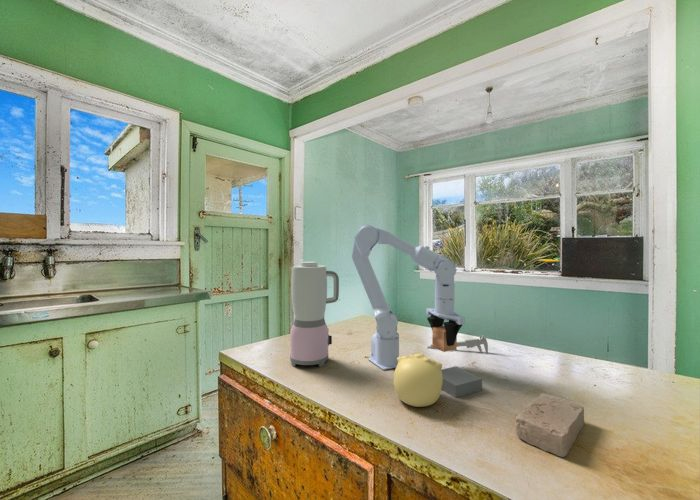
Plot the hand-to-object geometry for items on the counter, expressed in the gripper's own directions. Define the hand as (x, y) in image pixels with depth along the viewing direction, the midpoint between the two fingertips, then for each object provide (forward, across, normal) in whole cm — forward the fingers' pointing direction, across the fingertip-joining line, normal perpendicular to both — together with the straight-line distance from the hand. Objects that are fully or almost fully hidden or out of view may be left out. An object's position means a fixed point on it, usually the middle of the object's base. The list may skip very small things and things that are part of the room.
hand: (444, 342), depth 95 cm
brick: (+8, -34, +3) cm, 35 cm away
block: (+2, 0, 0) cm, 2 cm away
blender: (+8, +22, +34) cm, 41 cm away
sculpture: (+8, -12, +19) cm, 24 cm away
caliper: (+8, +10, -15) cm, 20 cm away
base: (+8, -11, +6) cm, 15 cm away
